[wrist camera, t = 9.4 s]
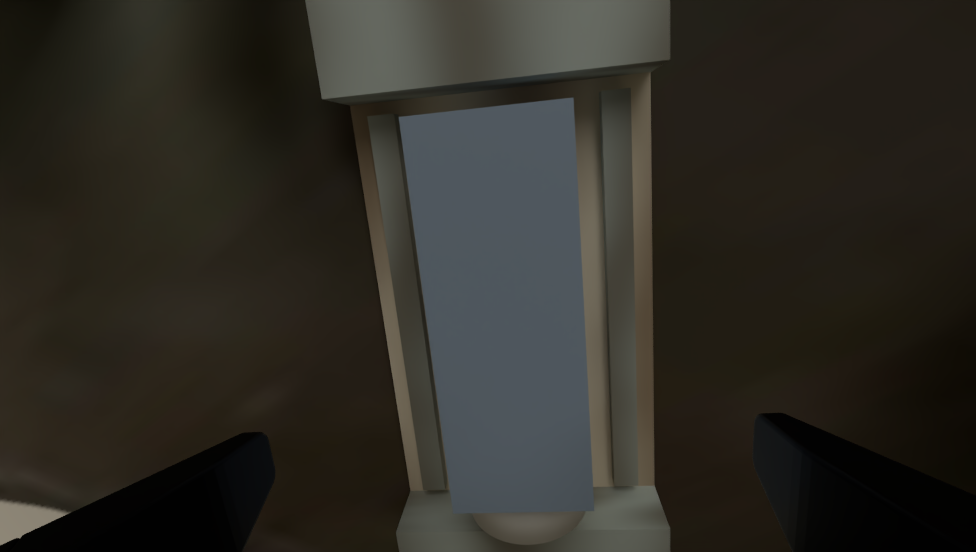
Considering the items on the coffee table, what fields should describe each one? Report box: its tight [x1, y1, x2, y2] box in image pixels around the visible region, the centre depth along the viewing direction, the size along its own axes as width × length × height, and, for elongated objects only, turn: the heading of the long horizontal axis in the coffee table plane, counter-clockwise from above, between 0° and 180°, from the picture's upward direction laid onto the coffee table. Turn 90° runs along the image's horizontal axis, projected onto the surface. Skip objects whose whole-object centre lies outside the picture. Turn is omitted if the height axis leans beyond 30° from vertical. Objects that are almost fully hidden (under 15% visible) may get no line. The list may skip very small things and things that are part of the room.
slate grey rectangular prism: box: [399, 98, 594, 545], centre depth 17 cm, size 4×14×6 cm, turn 5°
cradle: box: [305, 0, 670, 552], centre depth 19 cm, size 11×23×4 cm, turn 5°
